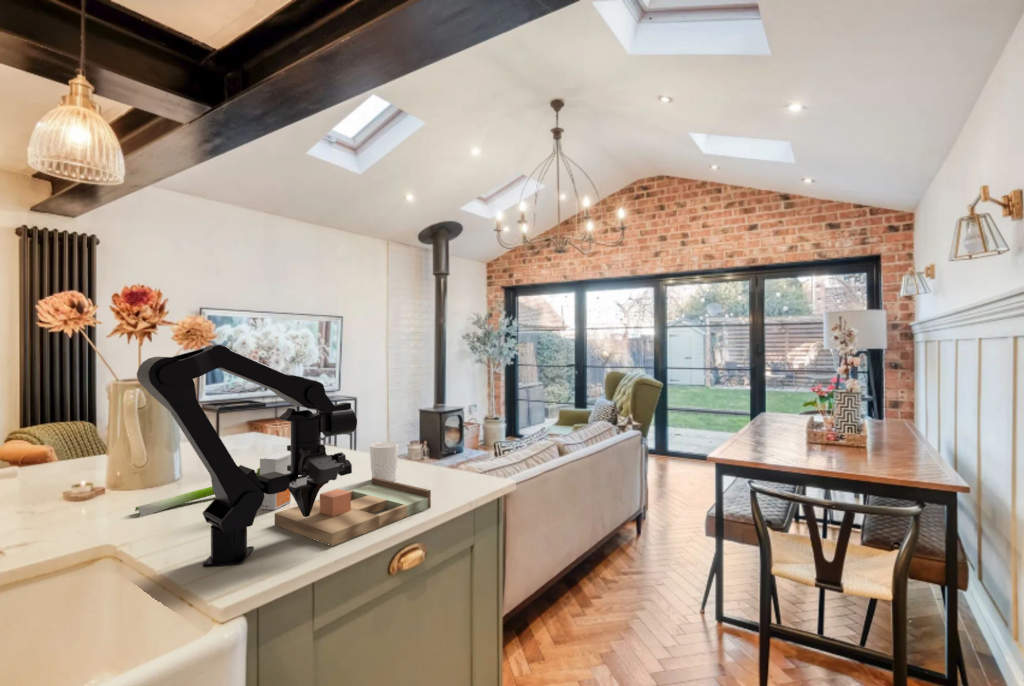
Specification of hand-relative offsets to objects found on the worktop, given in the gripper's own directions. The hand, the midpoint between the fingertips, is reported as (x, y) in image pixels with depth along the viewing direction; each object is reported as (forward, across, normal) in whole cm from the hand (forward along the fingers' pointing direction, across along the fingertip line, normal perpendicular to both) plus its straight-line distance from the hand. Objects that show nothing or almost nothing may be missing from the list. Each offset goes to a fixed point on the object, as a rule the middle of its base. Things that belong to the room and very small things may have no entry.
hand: (306, 516), depth 100 cm
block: (+1, +7, 0) cm, 7 cm away
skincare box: (+4, +6, +22) cm, 23 cm away
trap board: (+4, +13, 0) cm, 13 cm away
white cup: (+4, +36, +17) cm, 40 cm away
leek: (+4, 0, +40) cm, 40 cm away
